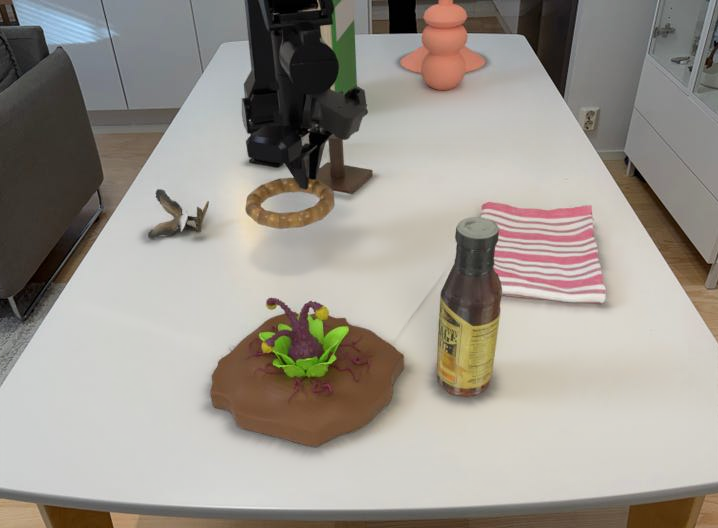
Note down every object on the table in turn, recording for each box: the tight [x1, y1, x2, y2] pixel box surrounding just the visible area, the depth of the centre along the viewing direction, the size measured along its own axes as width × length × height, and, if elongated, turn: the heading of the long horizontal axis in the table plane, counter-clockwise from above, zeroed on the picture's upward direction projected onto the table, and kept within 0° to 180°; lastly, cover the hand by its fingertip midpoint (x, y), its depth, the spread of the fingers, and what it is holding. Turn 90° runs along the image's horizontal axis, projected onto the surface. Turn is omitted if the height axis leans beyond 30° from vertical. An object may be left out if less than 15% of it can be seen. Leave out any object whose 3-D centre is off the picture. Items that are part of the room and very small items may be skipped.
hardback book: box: [299, 0, 358, 95], centre depth 143 cm, size 18×7×24 cm, turn 170°
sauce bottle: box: [436, 216, 503, 397], centre depth 71 cm, size 6×6×20 cm
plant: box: [209, 297, 405, 448], centre depth 75 cm, size 20×20×11 cm
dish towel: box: [479, 201, 607, 305], centre depth 97 cm, size 17×23×4 cm
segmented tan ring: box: [244, 177, 336, 230], centre depth 94 cm, size 12×12×2 cm
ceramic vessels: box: [400, 0, 486, 91], centre depth 161 cm, size 35×21×19 cm, turn 175°
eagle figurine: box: [147, 188, 210, 239], centre depth 105 cm, size 8×7×9 cm
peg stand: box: [317, 135, 374, 195], centre depth 117 cm, size 9×9×8 cm
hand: (308, 185), depth 97 cm, fingers closed on segmented tan ring, 2 cm apart
